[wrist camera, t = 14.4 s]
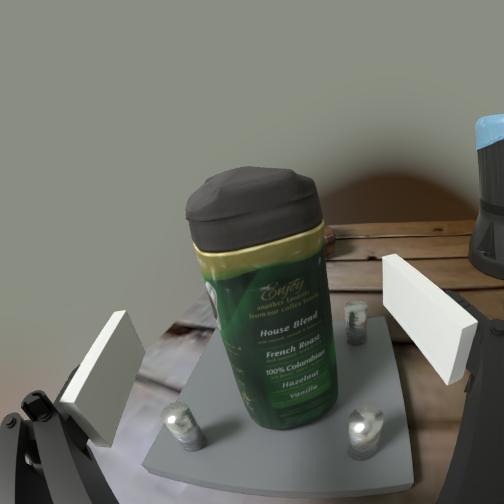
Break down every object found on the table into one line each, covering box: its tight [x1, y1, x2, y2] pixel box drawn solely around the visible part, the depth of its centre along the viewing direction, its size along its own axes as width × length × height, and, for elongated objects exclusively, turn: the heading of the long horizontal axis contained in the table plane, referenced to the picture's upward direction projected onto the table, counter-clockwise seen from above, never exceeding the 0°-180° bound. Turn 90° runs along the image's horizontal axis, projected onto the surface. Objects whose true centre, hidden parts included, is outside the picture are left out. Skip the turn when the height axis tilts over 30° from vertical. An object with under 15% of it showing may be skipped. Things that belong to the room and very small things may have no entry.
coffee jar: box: [186, 166, 338, 430], centre depth 21 cm, size 10×8×19 cm
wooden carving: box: [324, 225, 335, 256], centre depth 55 cm, size 16×5×10 cm, turn 15°
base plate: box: [142, 300, 414, 498], centre depth 23 cm, size 20×20×6 cm
